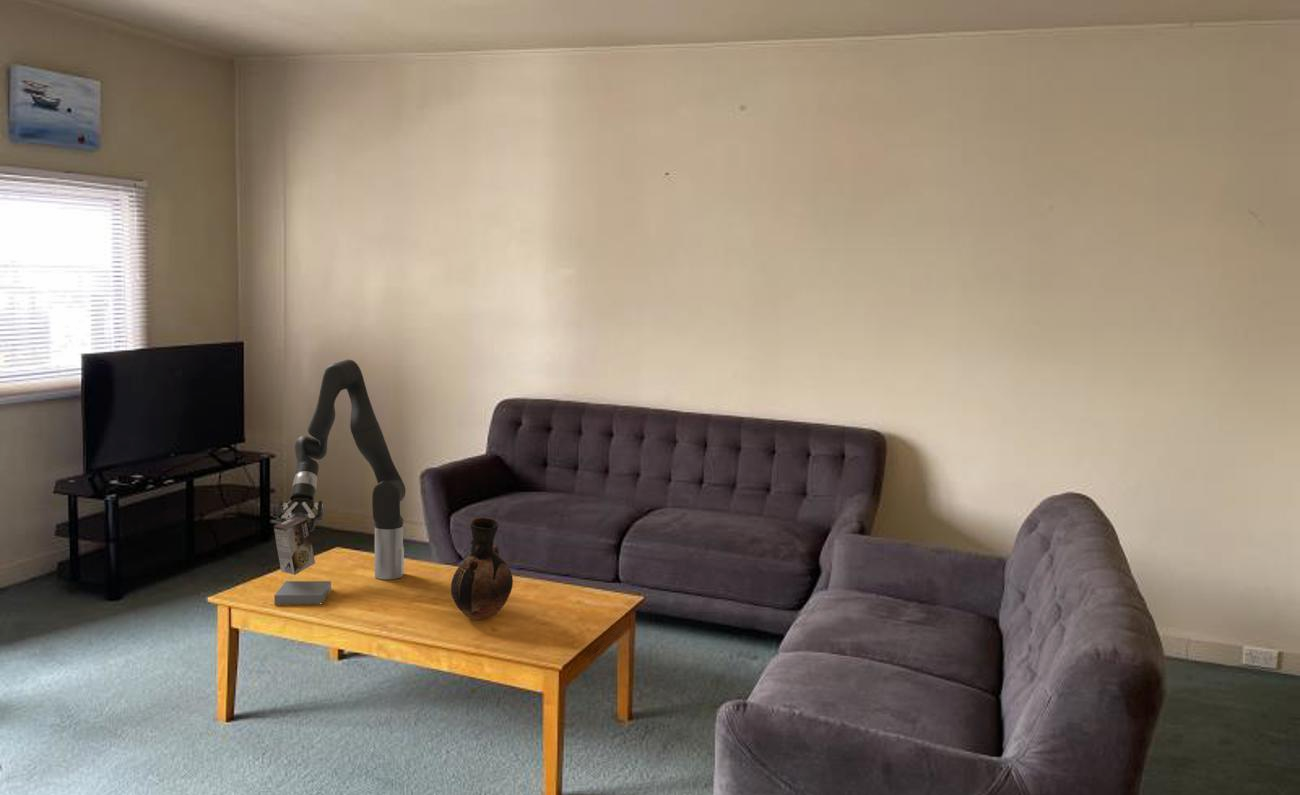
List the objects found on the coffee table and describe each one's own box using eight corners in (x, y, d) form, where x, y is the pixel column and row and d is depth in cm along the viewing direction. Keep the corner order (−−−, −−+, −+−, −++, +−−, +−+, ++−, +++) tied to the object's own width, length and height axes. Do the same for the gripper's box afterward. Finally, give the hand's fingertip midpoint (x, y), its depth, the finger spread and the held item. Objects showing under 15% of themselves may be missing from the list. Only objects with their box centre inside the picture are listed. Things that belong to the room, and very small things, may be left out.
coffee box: (301, 560, 321) (294, 515, 317) (315, 563, 318) (308, 518, 314) (280, 572, 313) (272, 526, 309) (294, 575, 310) (286, 528, 306)
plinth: (331, 590, 311) (331, 581, 311) (322, 604, 298) (321, 594, 297) (285, 590, 310) (285, 581, 309) (274, 604, 296) (274, 595, 296)
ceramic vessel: (474, 601, 305) (476, 508, 302) (524, 610, 299) (526, 515, 295) (437, 622, 285) (438, 523, 282) (489, 632, 279) (490, 530, 276)
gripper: (279, 482, 320) (271, 524, 310) (324, 481, 322) (317, 524, 312) (284, 494, 326) (276, 536, 316) (328, 493, 328) (321, 535, 318)
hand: (296, 530), depth 314 cm, fingers closed on coffee box, 8 cm apart
